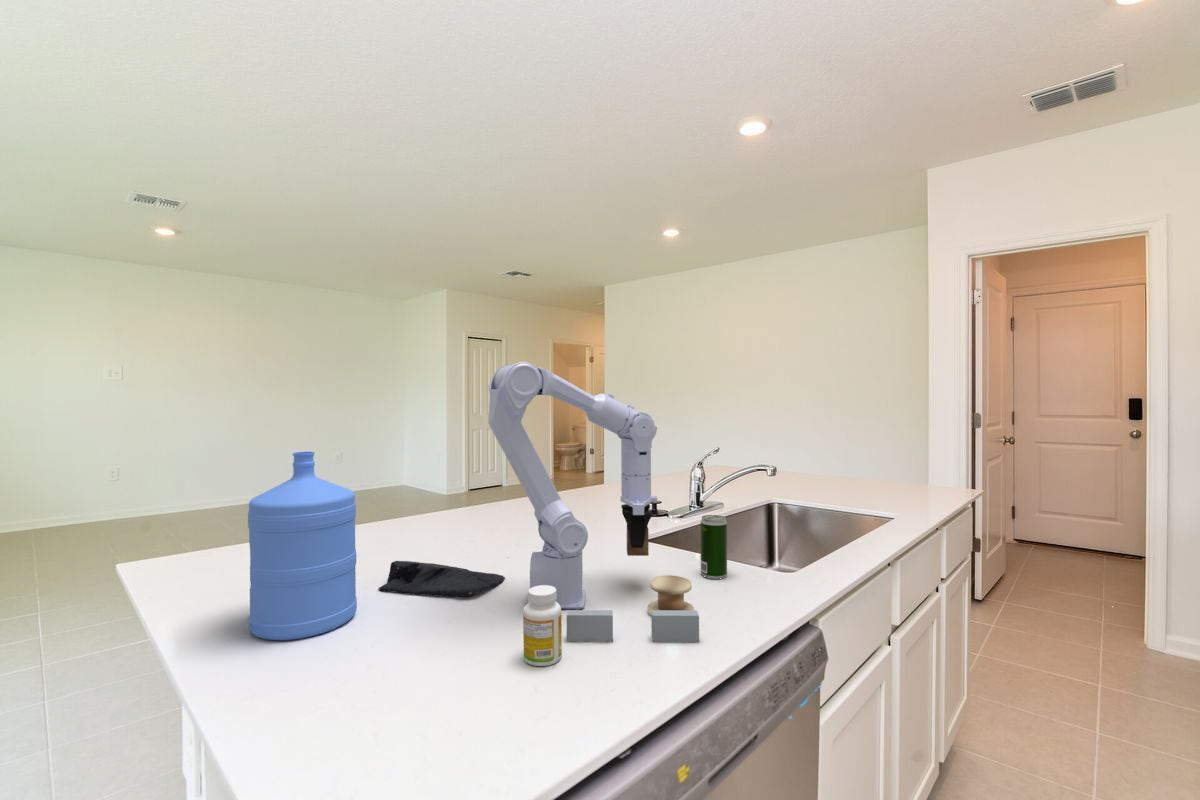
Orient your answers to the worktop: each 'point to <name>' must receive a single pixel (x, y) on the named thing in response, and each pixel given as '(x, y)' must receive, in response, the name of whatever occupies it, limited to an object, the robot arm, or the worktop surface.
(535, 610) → the supplement bottle
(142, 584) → the worktop surface
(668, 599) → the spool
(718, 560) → the beer can
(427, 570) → the dark slate chunk
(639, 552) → the block
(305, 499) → the water jug
